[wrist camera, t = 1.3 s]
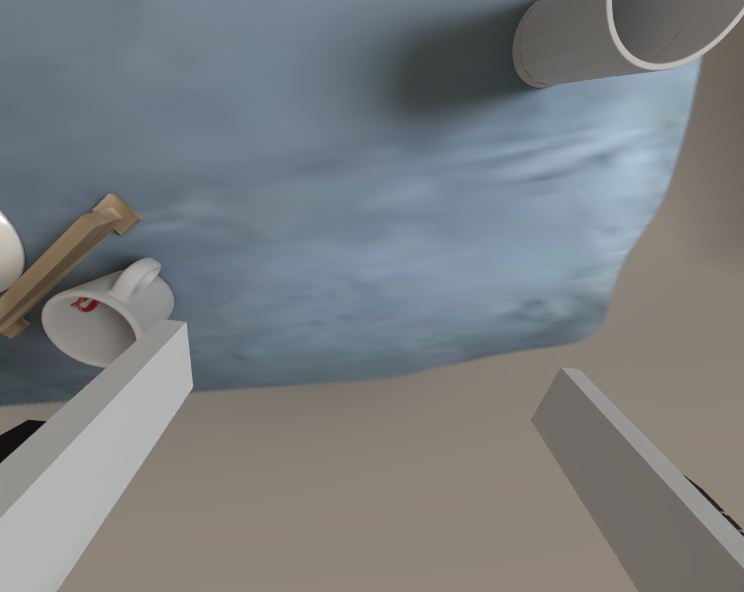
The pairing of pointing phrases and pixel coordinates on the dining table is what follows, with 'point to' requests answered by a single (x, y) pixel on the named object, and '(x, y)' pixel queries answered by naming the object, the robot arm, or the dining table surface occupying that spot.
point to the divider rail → (63, 260)
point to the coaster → (10, 254)
